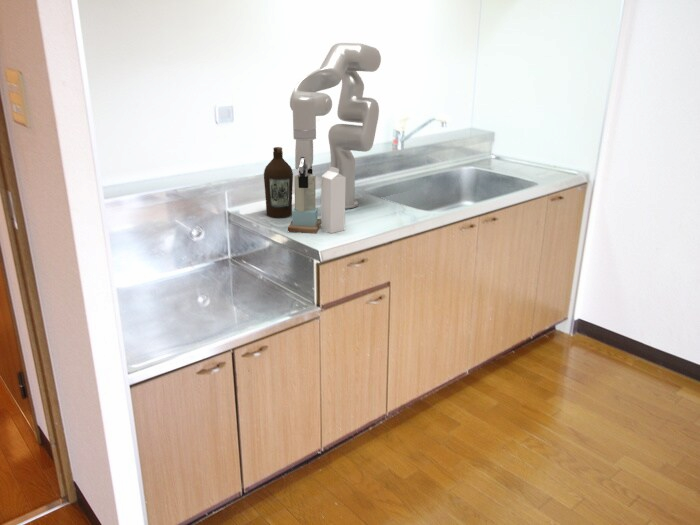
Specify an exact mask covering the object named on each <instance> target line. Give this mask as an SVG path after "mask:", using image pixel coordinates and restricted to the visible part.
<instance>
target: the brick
mask: <svg viewBox="0 0 700 525" xmlns="http://www.w3.org/2000/svg"><path fill="white" fill-rule="evenodd" d="M318 208H319V207H316V209H313V210H309V211H306V212H301V211H298V210H295V207H294V208H293V209H292V215H291V217H292V220H291V221H292V225H295V226H316V224H317V222H318V219H319V209H318Z"/></svg>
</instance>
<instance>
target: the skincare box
mask: <svg viewBox="0 0 700 525" xmlns="http://www.w3.org/2000/svg"><path fill="white" fill-rule="evenodd" d="M312 174H313V173H312ZM312 174H309V173H307V176H308V188H299V181H298V176H299V174H298V175H293V179H294V208H295V210H298V211H301V212H306V211H309V210H313V209H316V208H317V207H316V206H317V205H316V199H317V198H316V196H317V195H316V189H317V188H316V185H317V184H316V182H317V180H316V174H313V175H312Z"/></svg>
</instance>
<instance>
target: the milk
mask: <svg viewBox="0 0 700 525" xmlns="http://www.w3.org/2000/svg"><path fill="white" fill-rule="evenodd" d="M320 183H321V184H320V185H321V186H320V188H321V190H320V192H321V194H320V201H321V202H320V204H321V205H320V209H321V210H320V213H321V214H320V219H321V225H320V230H322V231H324V232H327V233H329V234H334V233H339V232H343V231H345V227H346V226H345V224H346V223H345V222H346V221H345V220H346V209H345V183H346V177H344V176H342V175H341V174H339V169H337V168H334V167H331V165H330V166H329V165H328V170H327V171H326V172H324V173H323V174H322V175H321V182H320Z"/></svg>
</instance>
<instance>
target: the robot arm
mask: <svg viewBox="0 0 700 525" xmlns="http://www.w3.org/2000/svg"><path fill="white" fill-rule="evenodd" d="M381 62H382V58H381V52H380V50H379V49H377V48H376V47H374V46H370V45H367V44H364V43H355V42H337V43H335V44H334V45H332V47H330V48H329V51H328V52H327V54H326V57H325V58H324V60H323V62H322V63H321V66H320V67H319V68H318V69H316V70H314V71H312V72H311V73H309V74H308V75H305V77H303V78H301V79H299V81H298V83H297V84H296V85H295V87H294V88H293V91H292V93H291V95H290V97H289V107H290V109H291V111H292V129H293V130H292V134H293V136H292V137H293V139H294V140H295V152H294V153H295V157H294V161H295V162H294V163H295V164H294V166H295V167H294V169H296V170H298V175H299V176H298V181H299V188H308V176H307V173H309V174H312V175H314V174H313V165H314V164H313V163H314V140H316V139H317V118H316V117H322V116H325V115H328V114H329V113H330V112H331V110H332V107H333V100H332V98H331V96H330V95H329V94H327V93H325V92H320V91H324V90H328V89H331V88H334V87H336V86H338V85H339V84H340V83H341V90H340V95H339V100H338V104H337V113H336V114H337V117H338V119H339V120H340V121H343V122H347V123H358V124H357V125H356V124H347V123H337V124H334V125H332V126H330V128H329V130H328V135H327V136H328V137H327V138H328V144H329V149H330V150H329V151H330V166H331V167H334V168H337V169H339V174H341V175H342V176H344V177H346V183H345V210H347V209H354V208H356V207H358V206H359V202H358V201H357V200H356V199H355V187H356V186H355V183H356V181H355V180H356V179H355V178H356V160H355V157H354V155H353V153H352V151H354V152H364V153H365V152H369V151H371V150H372V148H373V146H374V141H375V137H376V132H377V126H378V121H379V117H380V116H379V115H380V114H379V113H380V107H379V103H378V101H377V100H376V99H375V98H372V97H364V96H363V95H364V90H365V84H364V81H363V79H362V77H361V76H360V75H359V73H358V72H369V73H373V72H376V71H377V70H378V69H379V68H380V66H381ZM359 124H361V125H359Z"/></svg>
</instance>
